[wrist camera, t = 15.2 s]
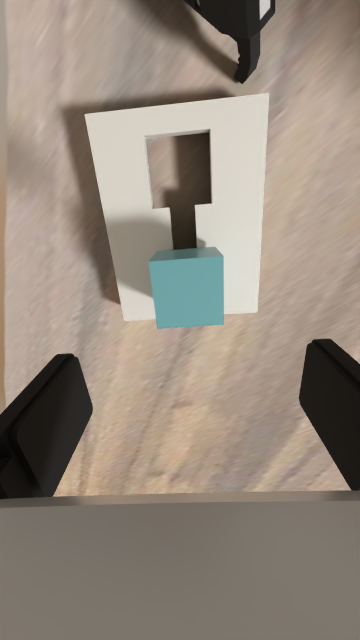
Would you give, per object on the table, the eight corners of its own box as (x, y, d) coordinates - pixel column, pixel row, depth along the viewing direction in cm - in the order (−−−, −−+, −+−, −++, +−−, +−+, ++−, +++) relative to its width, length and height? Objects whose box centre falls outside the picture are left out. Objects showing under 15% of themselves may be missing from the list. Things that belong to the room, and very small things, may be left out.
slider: (210, 241, 29) (223, 255, 19) (211, 289, 31) (223, 324, 21) (161, 245, 29) (148, 261, 19) (166, 292, 32) (157, 328, 21)
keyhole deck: (256, 111, 24) (269, 93, 20) (249, 301, 32) (257, 312, 28) (99, 129, 25) (84, 114, 21) (131, 309, 33) (124, 320, 29)
